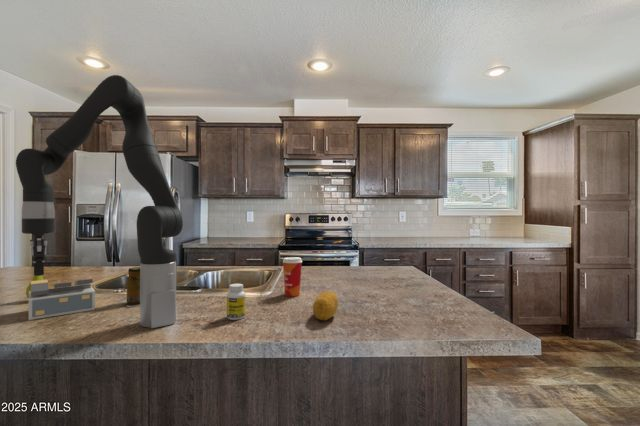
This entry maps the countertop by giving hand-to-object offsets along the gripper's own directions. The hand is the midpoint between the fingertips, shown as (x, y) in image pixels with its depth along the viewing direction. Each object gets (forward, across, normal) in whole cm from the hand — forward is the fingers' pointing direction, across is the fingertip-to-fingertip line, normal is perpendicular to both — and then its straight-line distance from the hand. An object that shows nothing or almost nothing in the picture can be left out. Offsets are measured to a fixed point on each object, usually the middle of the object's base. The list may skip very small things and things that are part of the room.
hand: (38, 275), depth 99 cm
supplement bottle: (+13, -38, -44) cm, 60 cm away
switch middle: (+5, +4, -6) cm, 8 cm away
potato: (+14, -56, -65) cm, 87 cm away
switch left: (+5, +4, 0) cm, 6 cm away
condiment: (+13, -2, -26) cm, 29 cm away
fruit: (+12, +24, 0) cm, 27 cm away
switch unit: (+12, +4, -6) cm, 14 cm away
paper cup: (+13, -28, -73) cm, 80 cm away
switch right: (+5, +4, -11) cm, 13 cm away
